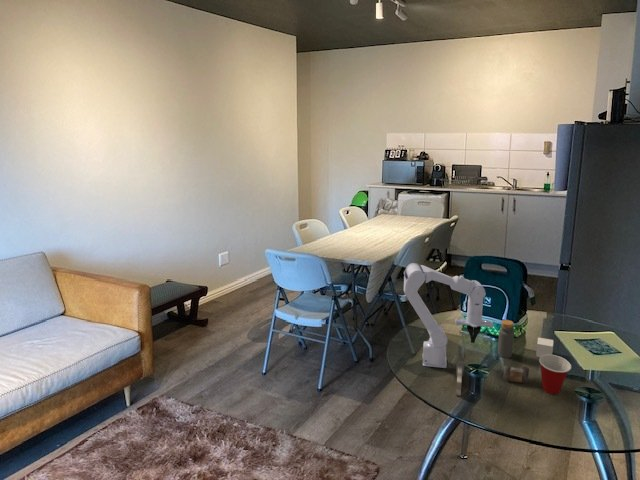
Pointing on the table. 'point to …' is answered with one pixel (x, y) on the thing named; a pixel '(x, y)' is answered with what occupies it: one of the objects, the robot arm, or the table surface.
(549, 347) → the white cube
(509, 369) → the fence
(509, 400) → the table surface
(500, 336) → the bottle
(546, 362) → the plastic cup
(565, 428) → the table surface
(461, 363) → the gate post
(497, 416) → the table surface
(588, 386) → the table surface
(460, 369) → the gate
